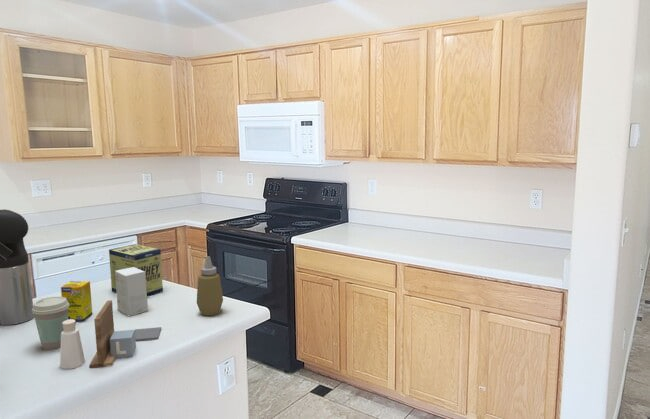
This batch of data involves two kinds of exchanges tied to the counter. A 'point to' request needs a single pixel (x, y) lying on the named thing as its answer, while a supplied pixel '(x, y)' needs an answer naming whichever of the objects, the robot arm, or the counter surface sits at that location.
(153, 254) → the protein box
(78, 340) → the pepper shaker
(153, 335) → the pad
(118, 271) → the small box
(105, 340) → the screen
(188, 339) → the counter surface
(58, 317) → the coffee cup
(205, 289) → the squeeze bottle
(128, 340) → the gray cube
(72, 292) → the supplement box
